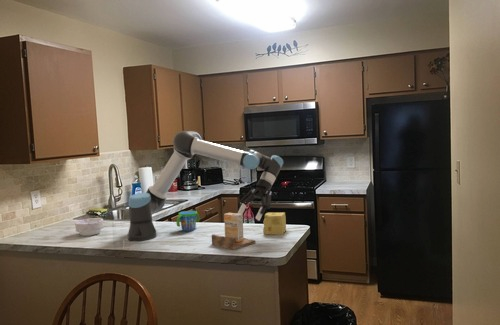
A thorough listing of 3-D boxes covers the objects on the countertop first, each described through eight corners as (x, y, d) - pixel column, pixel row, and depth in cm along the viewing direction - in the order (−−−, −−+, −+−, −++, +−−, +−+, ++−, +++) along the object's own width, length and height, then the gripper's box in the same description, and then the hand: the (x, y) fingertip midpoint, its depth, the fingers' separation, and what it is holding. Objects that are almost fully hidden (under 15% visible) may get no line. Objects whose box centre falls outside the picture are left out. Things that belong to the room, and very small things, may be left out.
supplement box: (224, 240, 194) (223, 214, 193) (230, 238, 198) (229, 212, 197) (238, 242, 190) (237, 215, 189) (244, 240, 194) (243, 213, 193)
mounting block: (212, 244, 194) (211, 234, 194) (233, 238, 204) (232, 229, 204) (234, 249, 183) (233, 239, 183) (255, 242, 193) (254, 233, 192)
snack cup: (194, 226, 238) (193, 209, 237) (205, 228, 230) (204, 210, 230) (172, 231, 227) (170, 213, 226) (182, 234, 219) (181, 215, 219)
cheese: (263, 234, 208) (262, 215, 207) (268, 229, 218) (267, 211, 218) (282, 235, 205) (281, 216, 204) (287, 230, 215) (286, 211, 215)
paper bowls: (94, 237, 223) (93, 223, 223) (70, 237, 226) (69, 223, 226) (109, 230, 238) (108, 217, 238) (86, 230, 241) (85, 217, 241)
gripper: (287, 188, 203) (269, 225, 195) (253, 184, 221) (236, 217, 213) (279, 180, 198) (261, 217, 191) (245, 176, 216) (227, 210, 209)
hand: (247, 217), depth 202 cm, fingers open, 13 cm apart
